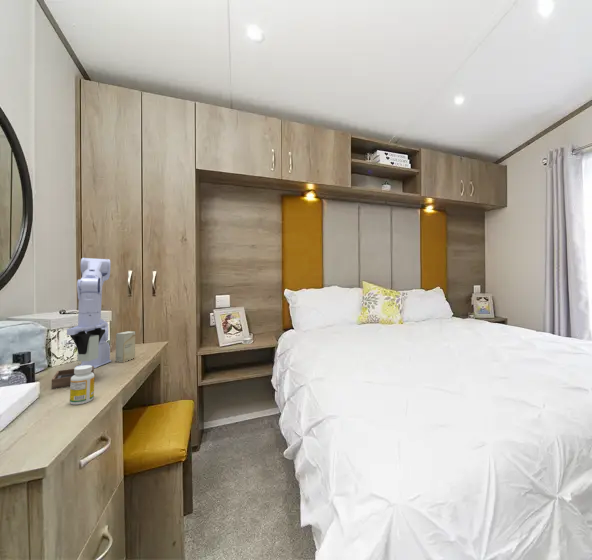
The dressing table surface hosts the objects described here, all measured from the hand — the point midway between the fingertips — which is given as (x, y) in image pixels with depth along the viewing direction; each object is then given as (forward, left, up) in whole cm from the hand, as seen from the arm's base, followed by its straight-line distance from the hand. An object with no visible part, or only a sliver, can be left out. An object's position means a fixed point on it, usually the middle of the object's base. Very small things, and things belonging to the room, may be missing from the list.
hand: (87, 352), depth 90 cm
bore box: (+1, -4, -10) cm, 11 cm away
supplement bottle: (+14, +11, -10) cm, 21 cm away
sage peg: (0, 0, -2) cm, 2 cm away
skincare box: (-25, -4, -10) cm, 27 cm away
